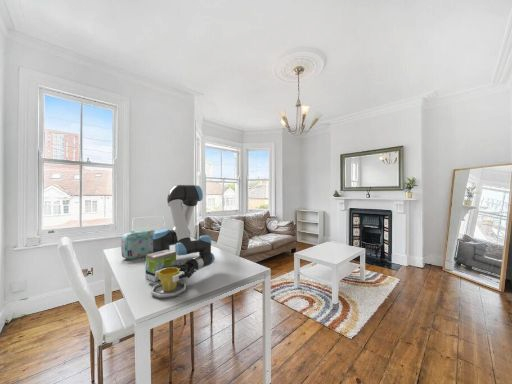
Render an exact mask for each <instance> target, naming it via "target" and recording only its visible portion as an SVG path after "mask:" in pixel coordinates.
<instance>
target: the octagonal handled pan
mask: <svg viewBox="0 0 512 384" xmlns="http://www.w3.org/2000/svg"><path fill="white" fill-rule="evenodd" d="M148 285H149V286H150V287H152V288H151V291H150V294H151V296H152V297H153V298H154V299H158V300H168V299H174V298H177V297H179V296H182V294H185V292H186V290H187V282H186V281H182V280H178V281H177V286H176V289H175V290H172V291H163V289H162V284H161V282H160V283H157V284H156V283H153V282H150V283H148Z"/></svg>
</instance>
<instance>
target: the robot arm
mask: <svg viewBox="0 0 512 384" xmlns="http://www.w3.org/2000/svg"><path fill="white" fill-rule="evenodd" d="M203 198H204V194H203V189H202V187H201V186H200V185H197V184H193V185H192V184H191V185H190V184H177V185H175V186H173V187H171V189H170V190H169V191H168V194H167V198H166V200H167V205H168V206H167V207H170V212H171V216H172V220H173V225H174V227H173V229H171V230H170V228H160V229H157V230H154V231H155V232H154V233H153V253H155V252H159V251H164V250H171V249H170V248H171V247H170V246H174V251H175V252H176V256H187V255H190V254H195V253H198V254H199V255H198V256H195V257H192V258H191V259H188V260H186V261H185V263H182V264H181V262H178V263H176V264H175V265H169V266H164V269H165V268H172V267H174V268H178V269H179V274H178V275H176V276H173V282H176V281H178V280H179V281H181V280H183V279H185V278H187V279H190V278H191V277H192V276H193V274H194V273H196V272H197V271H199V270H200V269H201V270H202V269H203V268H204V267H207V266H210V265H212V264H213V263H215V260H216V259H215V258H216V257H215V254H214V253H212V237H211V236H210V235H206V234H204V235H203V234H202V235H200V236H199V238H198V239H195V240H192V239H191V232H190V231H191V230H190V229H189V225H190V221H191V219H192V215H193V212H194V209H195V207H196V206H197V205H198V203H199V202H202V200H203ZM161 270H162V269H161ZM159 271H160V270H159ZM159 271H156V272H155V277H157V276H159Z"/></svg>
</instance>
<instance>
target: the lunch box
mask: <svg viewBox="0 0 512 384" xmlns="http://www.w3.org/2000/svg"><path fill="white" fill-rule="evenodd" d="M155 231H156V230H153V229H151V230H150V229H145V230H143V229H142V230H136V231H134V230H132V231H131V230H130V232H125V233H124V234H122V236H121V238H120V247H121V252H120V253H121V257H122V258H123V259H128V260H136V259H141V258H145V257H146V255H147V254H151V253H153V233H154V232H155Z"/></svg>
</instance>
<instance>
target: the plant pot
mask: <svg viewBox="0 0 512 384" xmlns="http://www.w3.org/2000/svg"><path fill="white" fill-rule="evenodd" d="M179 270H180V268H179V269H178V268H174V267H172V268H165V269H162V270H160V271H159V279H160V280H159V281H160V283H161V284H162V289H163V291H172V290H175V289H176V286H177V281H176V282H173V276H176V275H178V274H180V271H179Z"/></svg>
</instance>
